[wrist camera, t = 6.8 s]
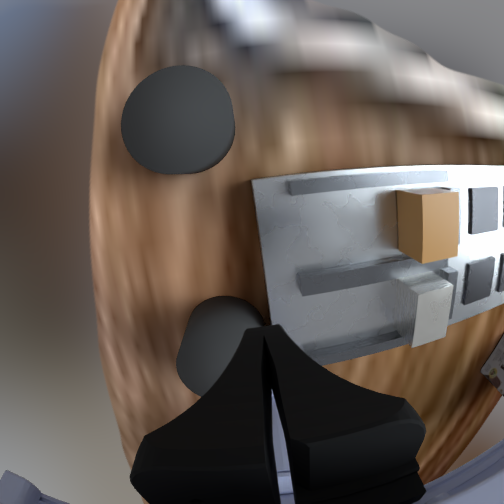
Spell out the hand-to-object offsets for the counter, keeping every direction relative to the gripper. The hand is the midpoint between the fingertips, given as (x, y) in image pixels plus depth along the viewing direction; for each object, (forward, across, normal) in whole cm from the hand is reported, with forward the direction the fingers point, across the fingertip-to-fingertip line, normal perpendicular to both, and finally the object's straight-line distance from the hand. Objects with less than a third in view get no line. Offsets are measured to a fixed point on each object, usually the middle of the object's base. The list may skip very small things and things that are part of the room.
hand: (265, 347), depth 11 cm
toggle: (+7, -11, -2) cm, 14 cm away
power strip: (+10, -14, 0) cm, 17 cm away
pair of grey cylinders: (+10, +3, -3) cm, 11 cm away
